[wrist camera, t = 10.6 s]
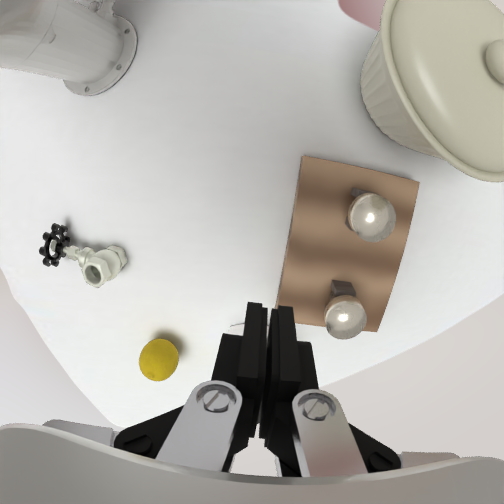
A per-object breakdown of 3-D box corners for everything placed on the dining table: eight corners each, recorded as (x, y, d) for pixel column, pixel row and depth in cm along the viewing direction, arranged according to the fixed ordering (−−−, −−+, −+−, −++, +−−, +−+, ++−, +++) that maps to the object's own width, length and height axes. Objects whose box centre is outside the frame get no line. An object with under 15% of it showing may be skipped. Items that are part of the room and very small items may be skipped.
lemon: (145, 332, 43) (124, 363, 35) (175, 326, 42) (157, 359, 34) (160, 359, 44) (143, 392, 37) (190, 355, 44) (175, 389, 36)
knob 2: (343, 184, 31) (357, 191, 25) (380, 192, 31) (400, 201, 25) (336, 223, 32) (348, 238, 27) (372, 230, 32) (389, 245, 26)
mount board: (301, 155, 33) (306, 155, 27) (409, 179, 33) (431, 185, 27) (275, 308, 40) (274, 333, 34) (371, 320, 39) (383, 344, 33)
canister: (310, 113, 31) (356, 59, 11) (372, 10, 26) (438, -79, 6) (428, 194, 33) (544, 241, 13) (476, 91, 27) (585, 75, 7)
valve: (131, 240, 38) (66, 217, 38) (108, 255, 32) (39, 229, 32) (126, 281, 41) (64, 257, 40) (104, 302, 34) (39, 272, 34)
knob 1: (324, 277, 34) (332, 301, 29) (358, 282, 34) (371, 306, 29) (315, 309, 36) (321, 337, 30) (349, 313, 36) (359, 340, 30)
